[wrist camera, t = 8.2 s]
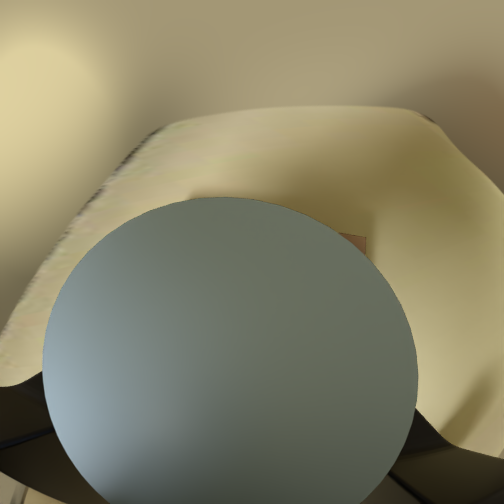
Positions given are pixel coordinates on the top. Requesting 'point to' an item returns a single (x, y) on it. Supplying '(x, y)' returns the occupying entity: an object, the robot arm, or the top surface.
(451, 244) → the top surface
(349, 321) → the tall dowel
